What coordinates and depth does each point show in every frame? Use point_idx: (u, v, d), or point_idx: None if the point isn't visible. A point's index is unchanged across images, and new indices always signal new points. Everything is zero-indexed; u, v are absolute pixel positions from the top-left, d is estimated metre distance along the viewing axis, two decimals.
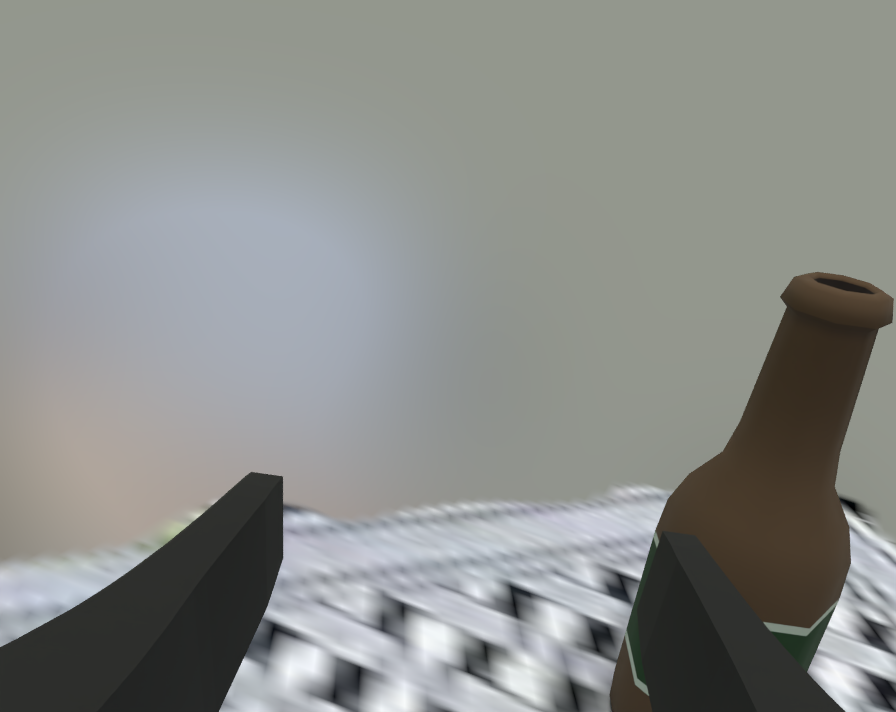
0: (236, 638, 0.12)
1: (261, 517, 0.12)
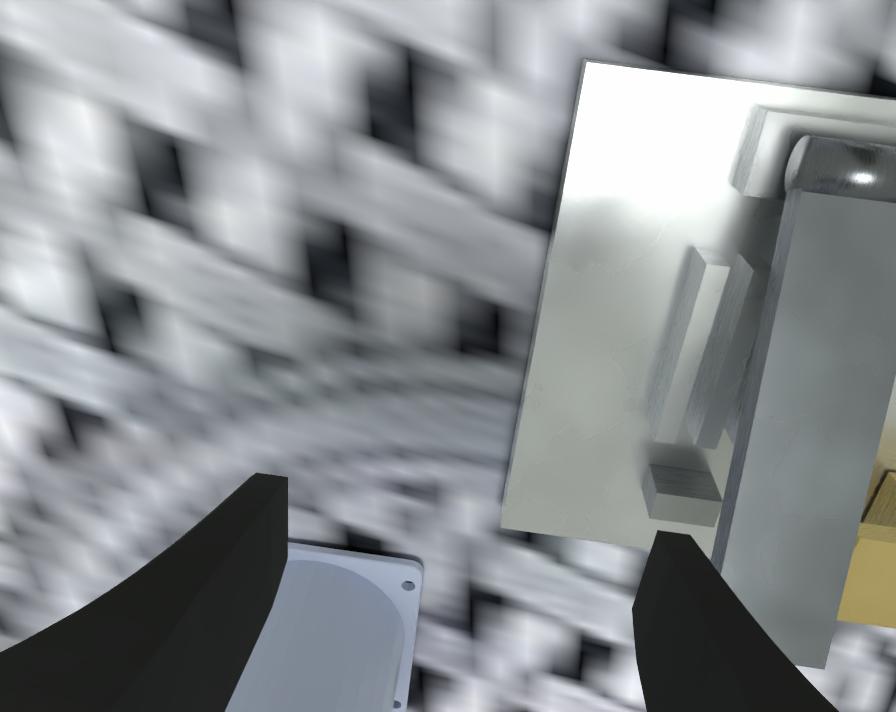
0: (242, 639, 0.12)
1: (266, 517, 0.12)
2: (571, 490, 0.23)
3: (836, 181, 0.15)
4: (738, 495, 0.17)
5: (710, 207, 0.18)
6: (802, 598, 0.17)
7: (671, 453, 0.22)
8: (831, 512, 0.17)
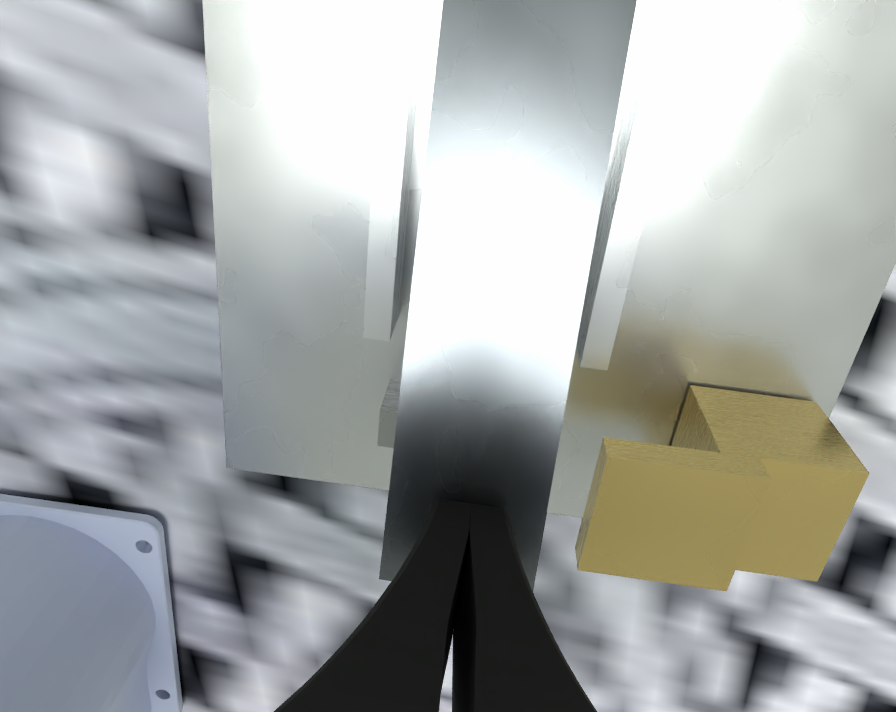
0: (443, 669, 0.12)
1: (465, 546, 0.12)
2: (302, 416, 0.18)
3: None
4: (402, 376, 0.13)
5: (399, 3, 0.13)
6: None
7: None
8: (526, 399, 0.13)
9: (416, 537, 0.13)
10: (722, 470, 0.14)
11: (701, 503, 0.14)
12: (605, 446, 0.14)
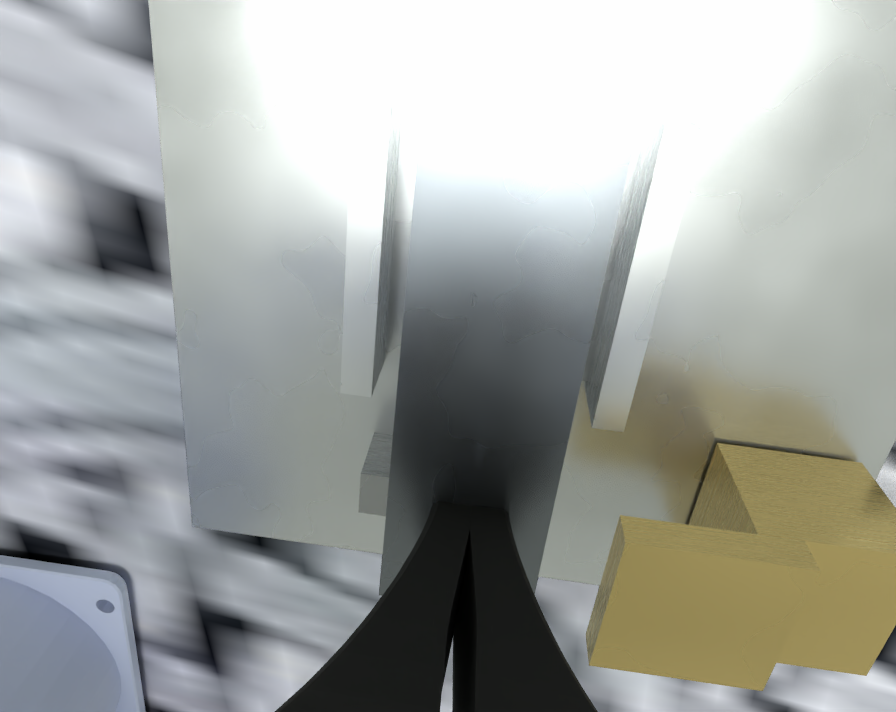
0: (444, 669, 0.12)
1: (467, 547, 0.12)
2: (275, 472, 0.16)
3: None
4: (395, 415, 0.12)
5: (380, 5, 0.11)
6: None
7: None
8: (526, 439, 0.12)
9: None
10: (762, 558, 0.11)
11: (736, 595, 0.12)
12: (623, 528, 0.12)
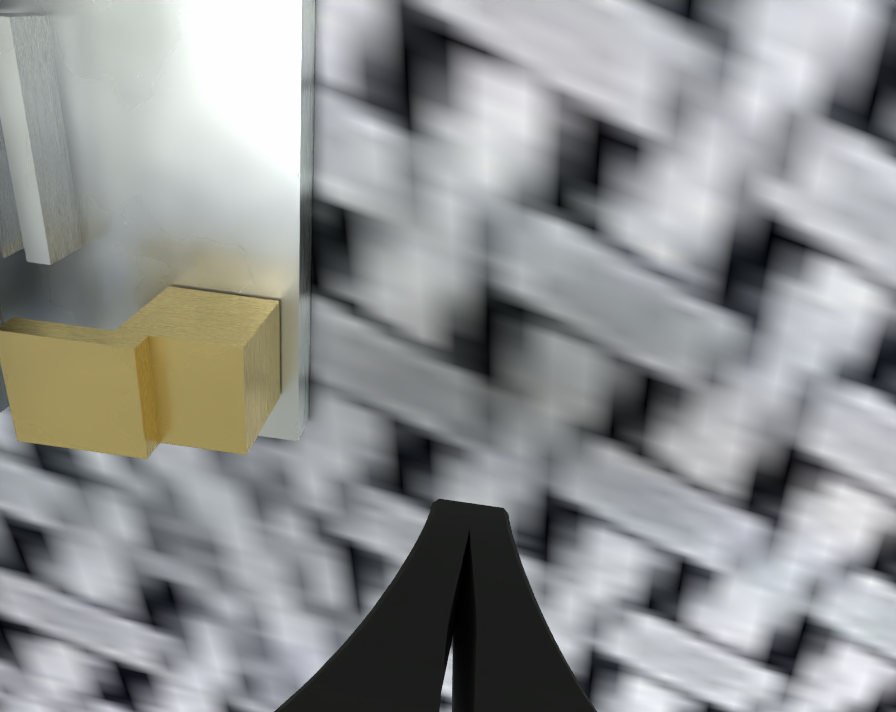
0: (444, 669, 0.12)
1: (466, 546, 0.12)
2: None
3: None
4: None
5: None
6: None
7: None
8: None
9: None
10: (95, 341, 0.15)
11: (88, 373, 0.16)
12: (5, 323, 0.16)
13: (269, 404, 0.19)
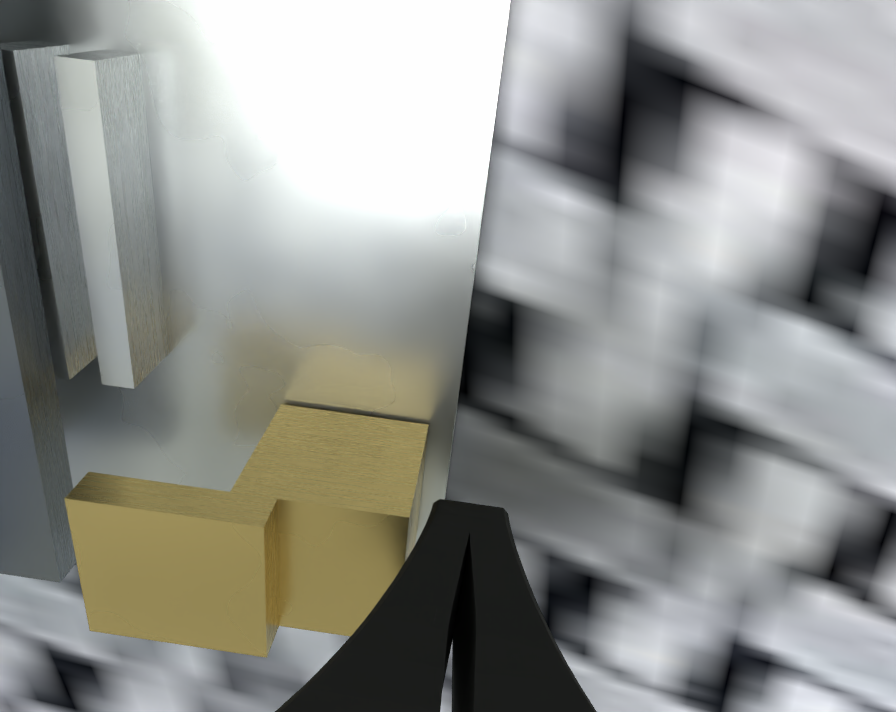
0: (444, 669, 0.12)
1: (467, 546, 0.12)
2: None
3: None
4: None
5: None
6: None
7: None
8: None
9: None
10: (208, 515, 0.11)
11: (195, 554, 0.11)
12: (79, 484, 0.11)
13: None
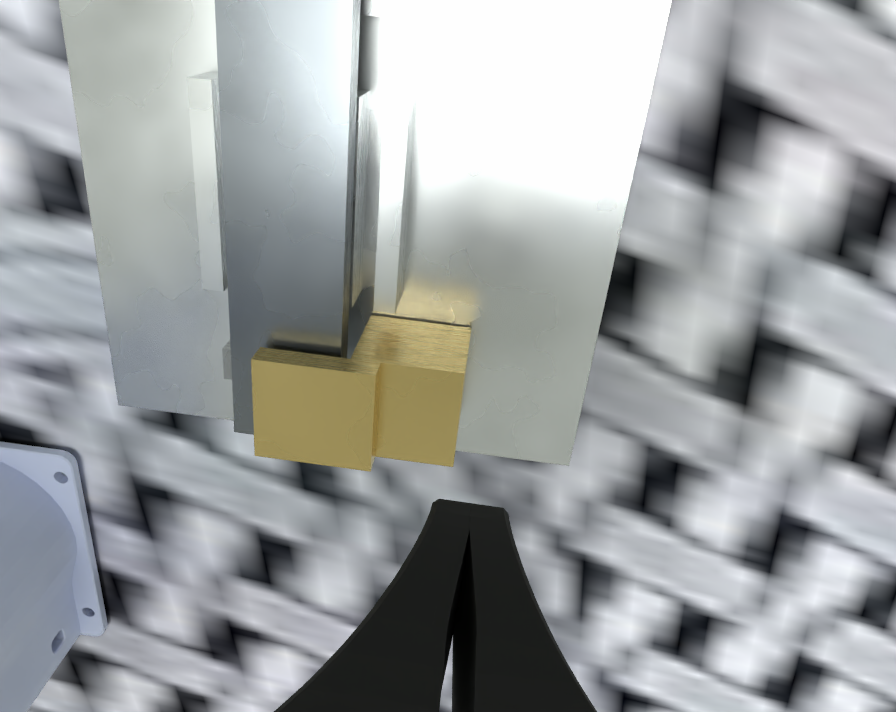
0: (444, 669, 0.11)
1: (466, 546, 0.12)
2: (174, 359, 0.22)
3: None
4: (228, 296, 0.18)
5: (211, 24, 0.17)
6: None
7: None
8: (314, 311, 0.18)
9: None
10: (340, 369, 0.18)
11: (330, 396, 0.18)
12: (256, 353, 0.18)
13: (459, 420, 0.21)
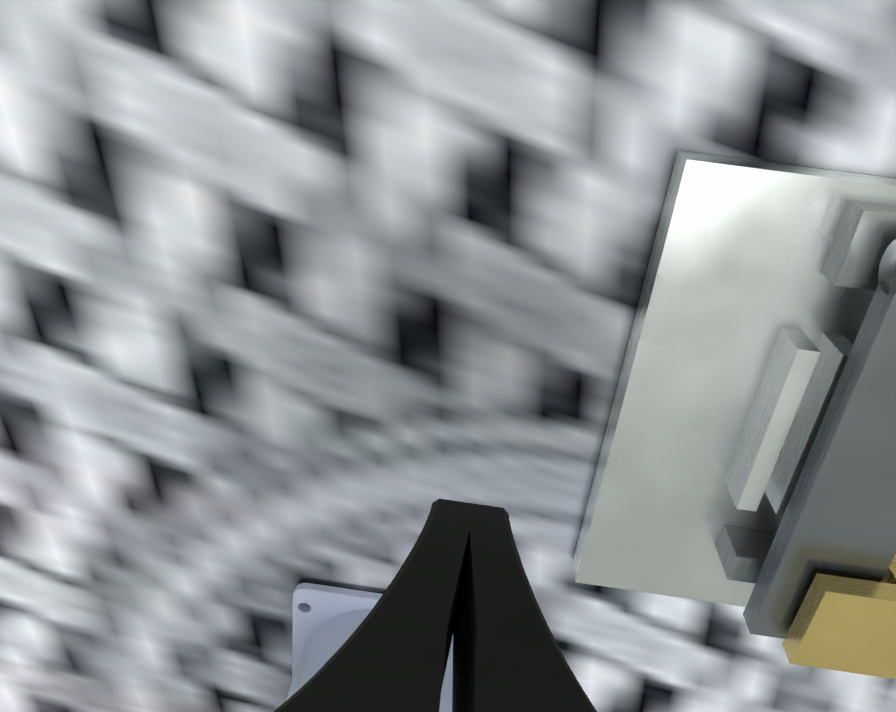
0: (443, 669, 0.11)
1: (466, 546, 0.12)
2: (647, 547, 0.24)
3: None
4: (795, 529, 0.20)
5: (798, 291, 0.19)
6: None
7: (746, 515, 0.23)
8: (873, 544, 0.20)
9: (780, 612, 0.21)
10: None
11: (888, 622, 0.20)
12: (820, 581, 0.20)
13: None
